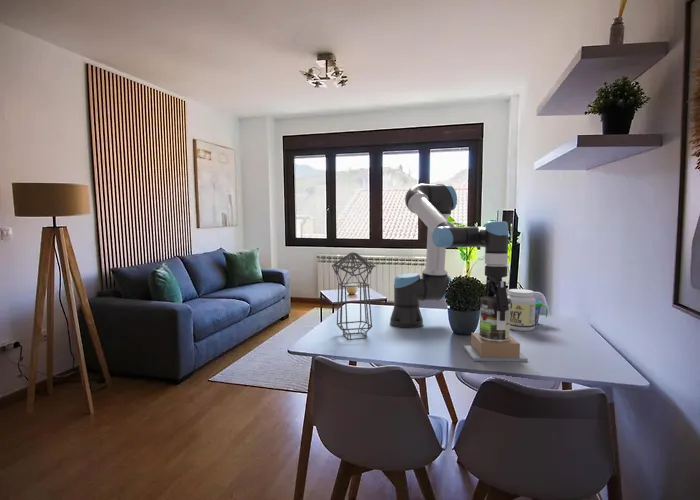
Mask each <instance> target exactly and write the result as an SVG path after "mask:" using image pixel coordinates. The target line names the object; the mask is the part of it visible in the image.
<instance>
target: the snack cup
mask: <svg viewBox="0 0 700 500" xmlns="http://www.w3.org/2000/svg"><path fill="white" fill-rule="evenodd" d="M535 301H536V302H535V325H537V324H538V323H539V318H540V314H541V307H545V311H546V312H545V318H547V317H548V315H549V313H548V312H549V310H548V307H547V305H546V304H545V303H543V302H542V301H540V300H537V299H535ZM536 323H537V324H536Z"/></svg>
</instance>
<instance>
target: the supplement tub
mask: <svg viewBox="0 0 700 500" xmlns="http://www.w3.org/2000/svg"><path fill="white" fill-rule="evenodd" d="M507 298H509V299H511V308H510V330H512V331H519V332H529V331H533V330H534V329H535V327H536V324H535V302H536V301H537V300H536V298H535V297H534V290H530V289H525V288H524V289H522V288H509V289H508V292H507ZM535 300H536V301H535Z"/></svg>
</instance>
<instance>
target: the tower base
mask: <svg viewBox="0 0 700 500" xmlns="http://www.w3.org/2000/svg"><path fill="white" fill-rule="evenodd" d="M470 333H471V334H470V335H471V338H470V341H471V342H470V345H464V346H463V349H464V351H466V353H467V354H468V355H469V357H470V358H471V360H472V361H473V362H475V361H476V362H525V363H526V362H527V363H528V357H526V356H525V355H524V354H522V352H521V351H520V350H521V343H520V342H519V341H518V340H516V339H515V338H514V337H512V336H511V335H510V336H509V338H510V340H509V341H505V342H494V341H488V340H484V339H482V338H480V337H479V335H480V332H470Z"/></svg>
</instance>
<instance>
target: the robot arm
mask: <svg viewBox="0 0 700 500" xmlns="http://www.w3.org/2000/svg"><path fill="white" fill-rule="evenodd" d="M404 202H405V206H406V208H407V209H408V210H409V211H410V212H411V213H413V214H415V215H416V216H417V217H418V218H419V219H420V221H422V222H423V224H424V225H425V226H426V227H427V238H426V240H427V241H426V258H425V268H424V269H423V270H422V271H421V273H422V274H421V275H420V274H419V273H418V272H411V273H410V272H408V273H402V274H398V275H396V276H395V278H394V281H393V282H394V284H393V309H392V313H391V316H390V319H389V321H390V322H389V323H390V325H391V326H393V327H397V328H406V329H411V328H413V329H414V328H419V327H423V325H424V319H423V315H422V313H421V310H420V302H424V301H425V302H426V301H428V302H430V301H437V302H438V301H439V302H440V301H443V300H446V299H445V293H446V289H447V286H448V284H449V282H450V281H451V282H452V279H451V277H450V276H449V274H448V271H447V270H446V269H445V268H446V267H445V265H446V250H447V248H479V247H480V248H484V250H485V252H484V264H485V266H484V276H485V277H486V280H485V281H486V283H485V289H484V295H483V297H485V296H496V301H497V306H498V308H497V310H496V311H497V330H506V311H507V310H509V306H508V299H507V296H508V292H507V282H506V280H505V281H504V280H503V278H506V277H508V266H507V265H508V262H509V261H508V259H510V256H509V255H508V254H509V253H508V252H509V235H510V233H509V222H508V221H503V220H501V221H499V220H498V221H496V220H494V221H486V223H485V226H478V225H477V226H476V225H475V226H455V225H454V224H452V222H450V221H449V220H448V218H449V217H450V216H451V215H452V211H454V210H455V209H456V208H457V205H458V195H457V191H456V189H455V187H453V186H452V185H451V184H445V183H444V184H443V183H418V184H415V185H413V186H411V187H410V188H409V189H408V190H407V191H406V194H405V197H404Z"/></svg>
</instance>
